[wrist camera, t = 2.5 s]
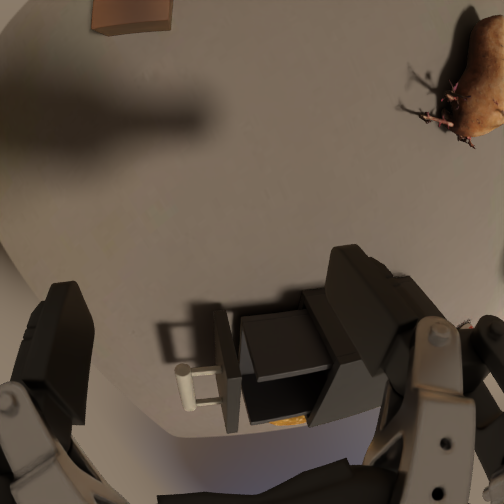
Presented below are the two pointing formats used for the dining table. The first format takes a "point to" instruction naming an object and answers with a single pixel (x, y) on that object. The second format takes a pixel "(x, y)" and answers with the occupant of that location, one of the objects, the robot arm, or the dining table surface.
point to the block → (131, 16)
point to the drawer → (263, 368)
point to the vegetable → (478, 85)
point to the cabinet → (348, 360)
